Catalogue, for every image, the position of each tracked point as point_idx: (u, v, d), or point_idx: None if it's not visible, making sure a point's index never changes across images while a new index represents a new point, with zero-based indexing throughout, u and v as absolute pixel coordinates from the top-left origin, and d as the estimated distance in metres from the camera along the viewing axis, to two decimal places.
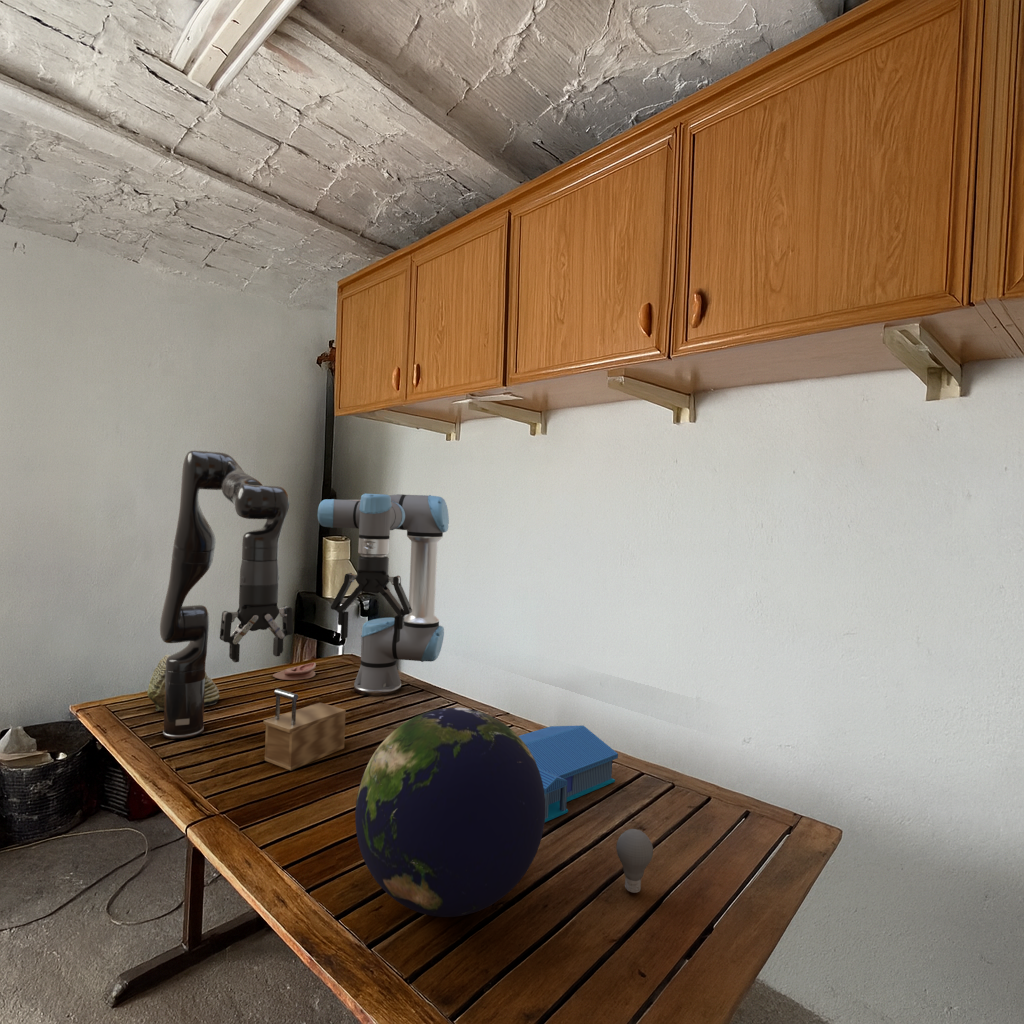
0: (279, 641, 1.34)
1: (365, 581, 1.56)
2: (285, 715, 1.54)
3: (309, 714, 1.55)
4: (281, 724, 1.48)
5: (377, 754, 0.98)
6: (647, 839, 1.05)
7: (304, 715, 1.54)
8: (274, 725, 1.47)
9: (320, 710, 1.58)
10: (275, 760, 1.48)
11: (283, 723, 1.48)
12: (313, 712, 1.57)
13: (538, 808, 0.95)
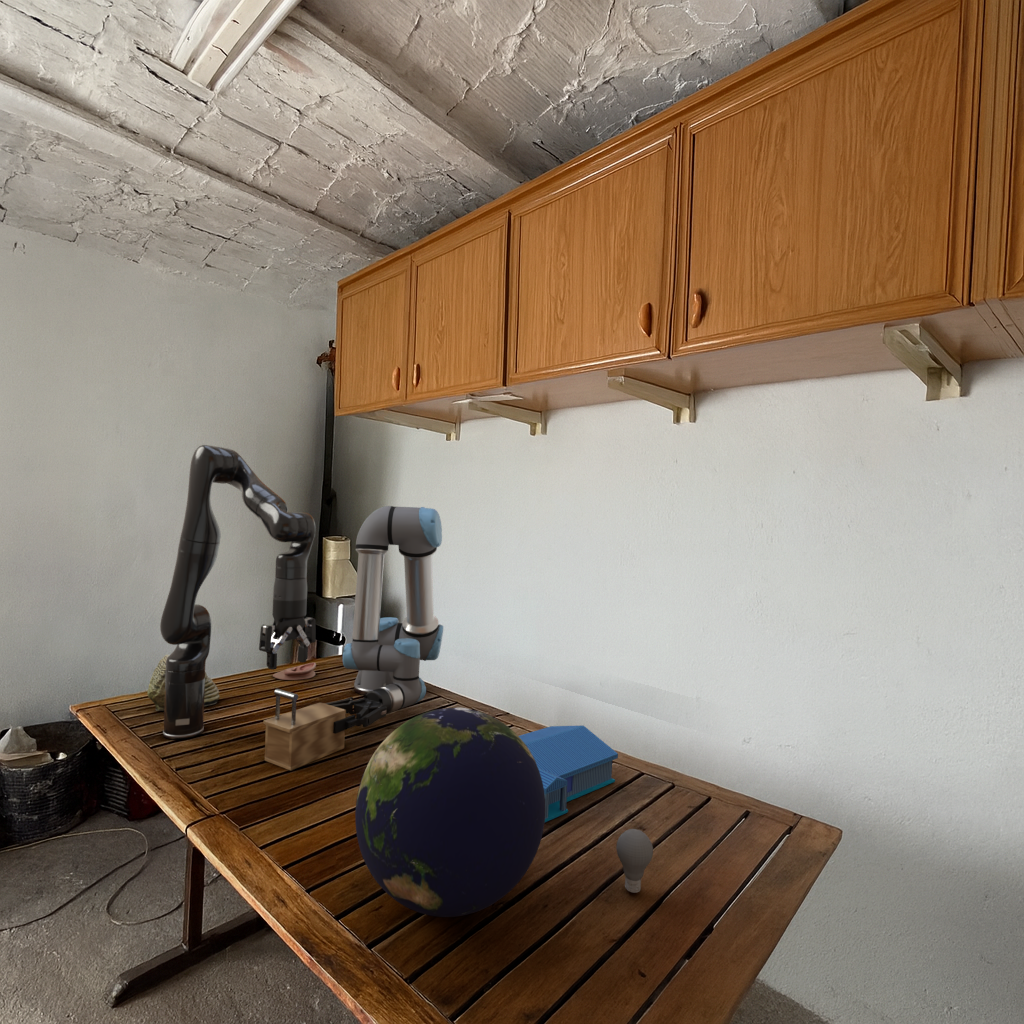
0: None
1: None
2: (285, 715, 1.54)
3: (309, 714, 1.55)
4: (281, 724, 1.48)
5: (377, 754, 0.98)
6: (647, 839, 1.05)
7: (304, 715, 1.54)
8: (274, 725, 1.47)
9: (320, 710, 1.58)
10: (275, 760, 1.48)
11: (283, 723, 1.48)
12: (313, 712, 1.57)
13: (538, 808, 0.95)
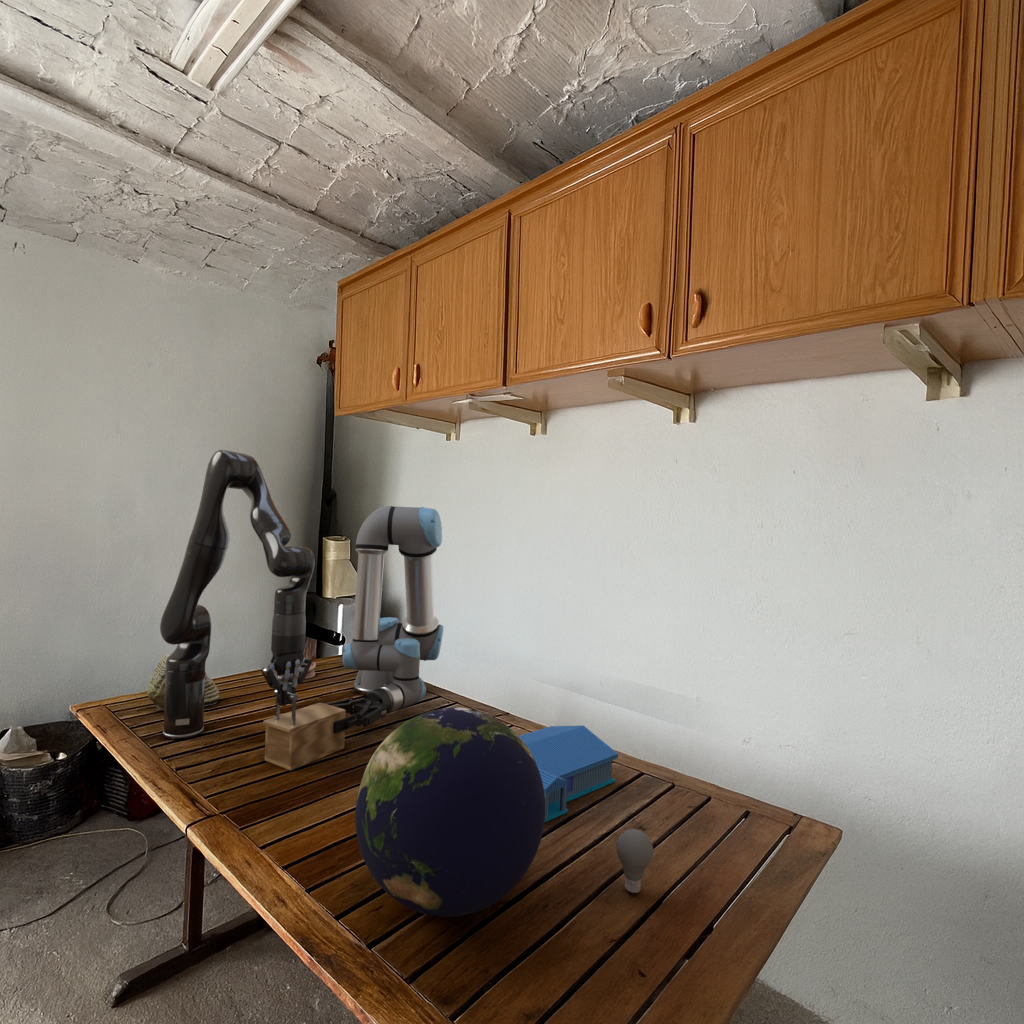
0: None
1: None
2: (285, 715, 1.54)
3: (309, 714, 1.55)
4: (281, 724, 1.48)
5: (377, 754, 0.98)
6: (647, 839, 1.05)
7: (304, 715, 1.54)
8: (274, 725, 1.47)
9: (320, 710, 1.58)
10: (275, 760, 1.48)
11: (283, 723, 1.48)
12: (313, 712, 1.57)
13: (538, 808, 0.95)
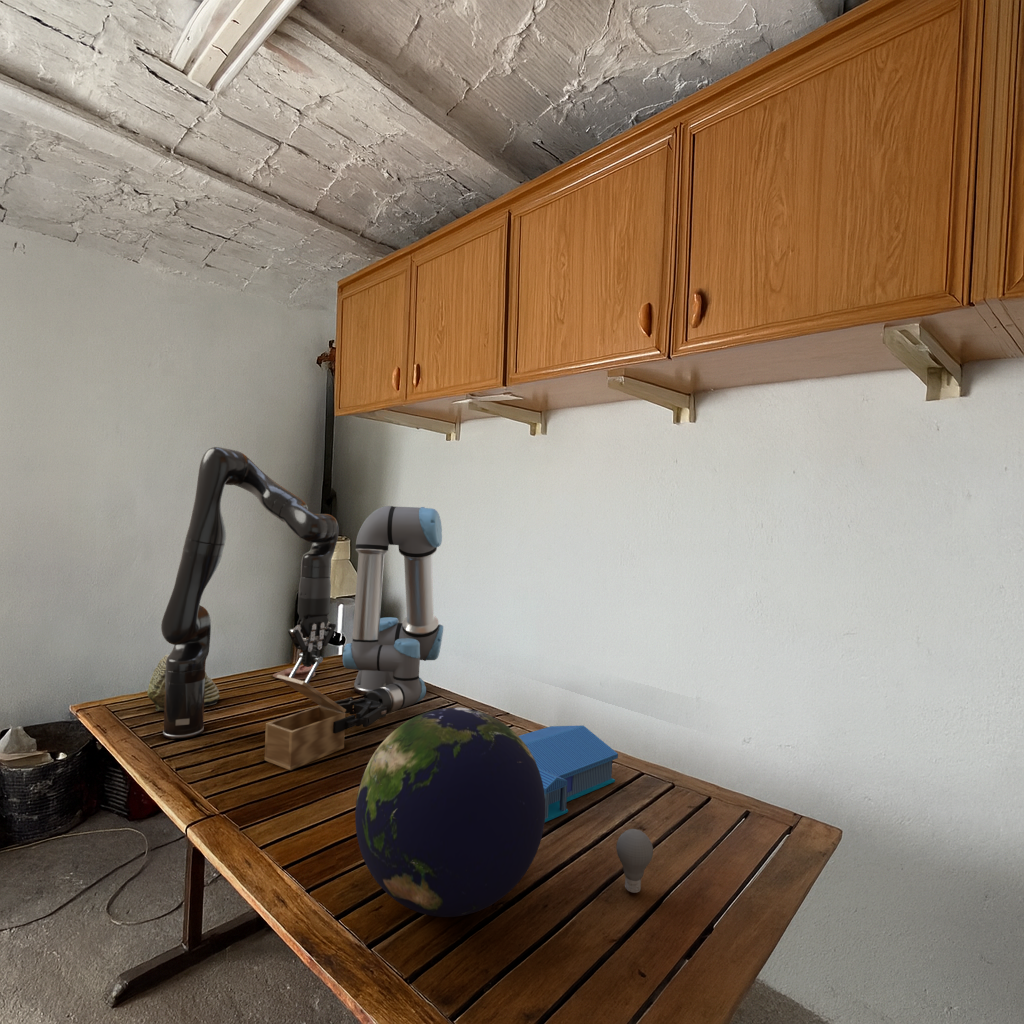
0: None
1: None
2: None
3: None
4: None
5: (377, 754, 0.98)
6: (647, 839, 1.05)
7: None
8: (289, 677, 1.50)
9: None
10: (275, 760, 1.48)
11: None
12: None
13: (538, 808, 0.95)
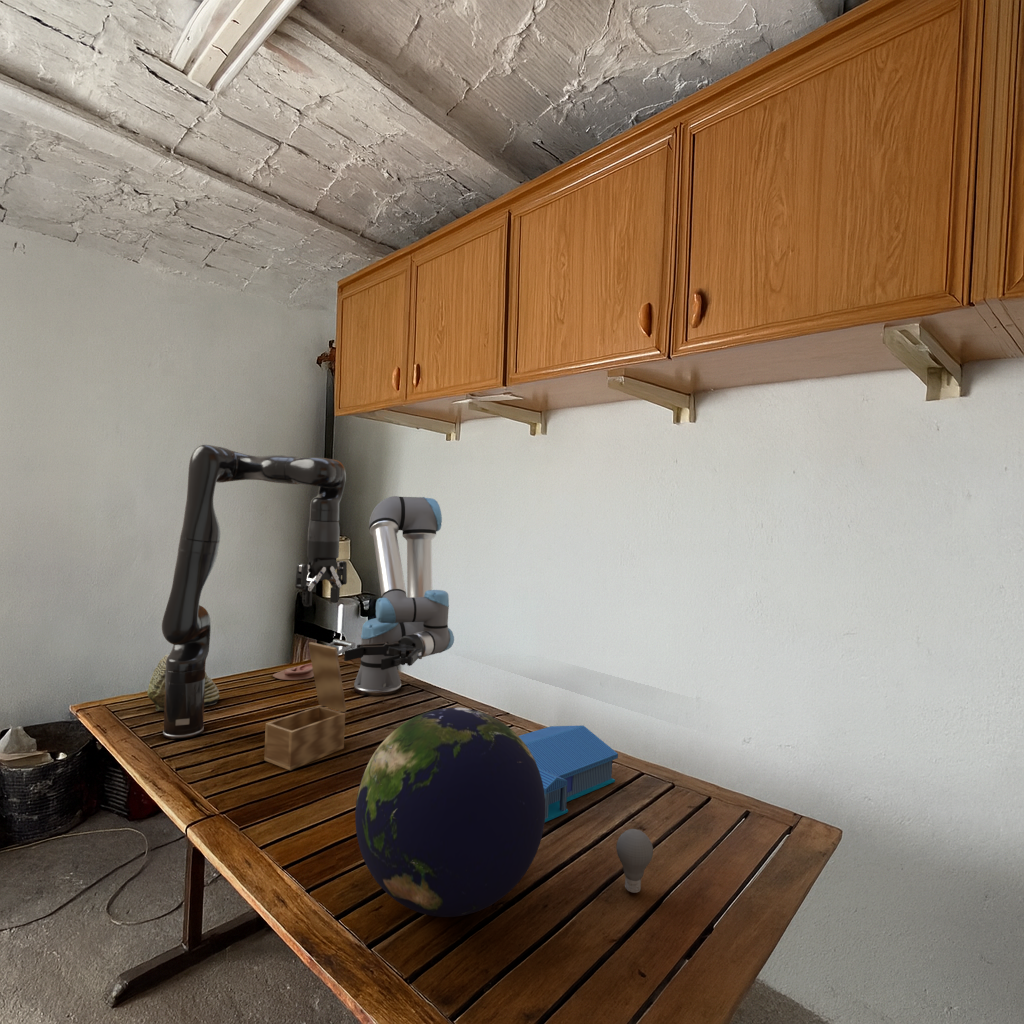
0: None
1: None
2: None
3: None
4: None
5: (377, 754, 0.98)
6: (647, 839, 1.05)
7: None
8: (321, 644, 1.59)
9: None
10: (275, 760, 1.48)
11: None
12: None
13: (538, 808, 0.95)
